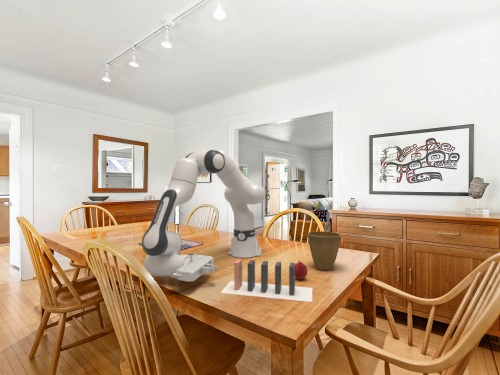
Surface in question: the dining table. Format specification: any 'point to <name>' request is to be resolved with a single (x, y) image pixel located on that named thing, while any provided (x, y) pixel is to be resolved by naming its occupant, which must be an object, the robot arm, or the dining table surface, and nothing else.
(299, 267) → the onion
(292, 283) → the domino
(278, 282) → the domino
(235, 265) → the terracotta domino
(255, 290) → the mat
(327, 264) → the plant pot
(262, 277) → the domino
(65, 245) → the dining table surface
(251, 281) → the domino
